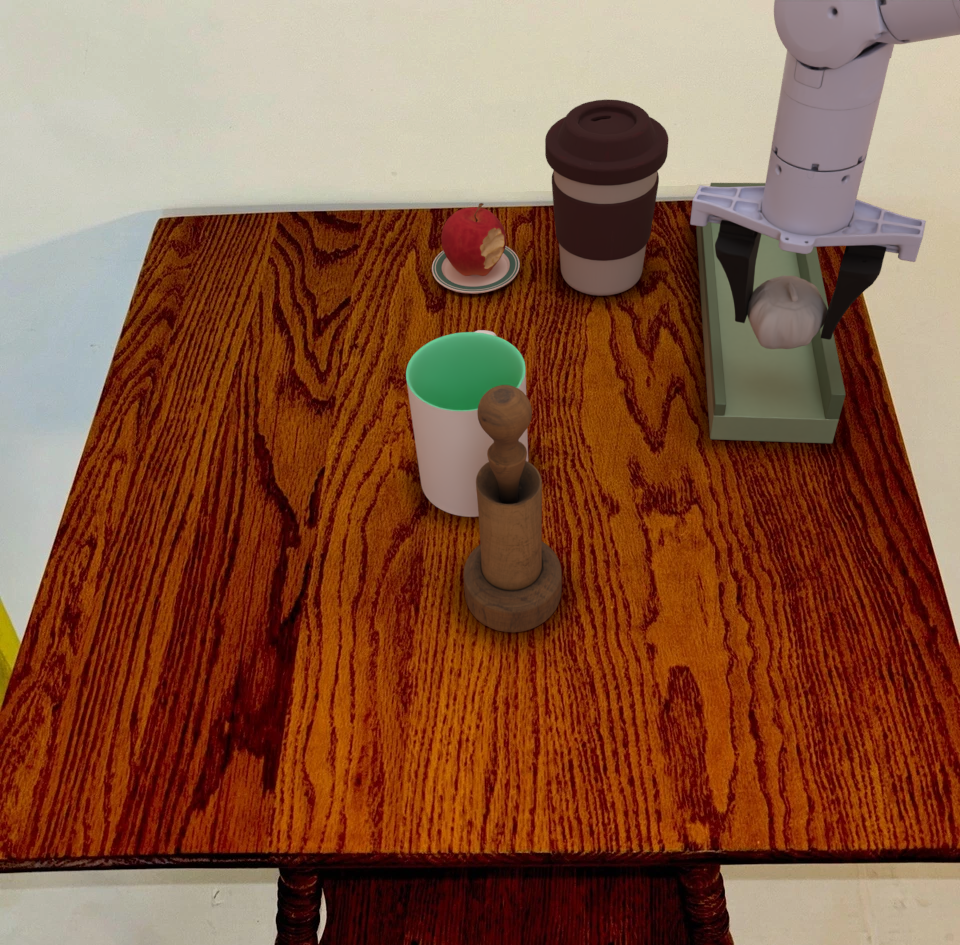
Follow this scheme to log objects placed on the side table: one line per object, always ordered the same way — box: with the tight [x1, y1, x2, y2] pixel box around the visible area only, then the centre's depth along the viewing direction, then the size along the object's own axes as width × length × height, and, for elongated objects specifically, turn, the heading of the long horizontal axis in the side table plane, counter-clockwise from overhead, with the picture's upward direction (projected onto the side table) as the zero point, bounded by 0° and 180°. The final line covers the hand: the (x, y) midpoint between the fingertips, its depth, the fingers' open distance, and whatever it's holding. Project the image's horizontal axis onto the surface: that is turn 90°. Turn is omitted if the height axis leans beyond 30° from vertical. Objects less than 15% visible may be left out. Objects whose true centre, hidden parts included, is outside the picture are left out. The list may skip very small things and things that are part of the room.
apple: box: [431, 202, 520, 294], centre depth 92 cm, size 8×8×6 cm
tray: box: [695, 182, 846, 444], centre depth 86 cm, size 28×9×5 cm, turn 174°
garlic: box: [747, 275, 828, 349], centre depth 73 cm, size 6×5×5 cm
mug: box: [405, 329, 529, 518], centre depth 75 cm, size 12×8×10 cm
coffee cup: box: [544, 99, 670, 296], centre depth 88 cm, size 10×10×15 cm
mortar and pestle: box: [463, 385, 563, 633], centre depth 63 cm, size 7×6×18 cm
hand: (784, 322), depth 74 cm, fingers closed on garlic, 5 cm apart
